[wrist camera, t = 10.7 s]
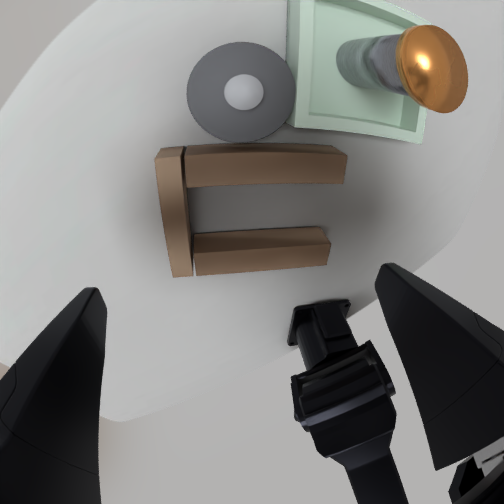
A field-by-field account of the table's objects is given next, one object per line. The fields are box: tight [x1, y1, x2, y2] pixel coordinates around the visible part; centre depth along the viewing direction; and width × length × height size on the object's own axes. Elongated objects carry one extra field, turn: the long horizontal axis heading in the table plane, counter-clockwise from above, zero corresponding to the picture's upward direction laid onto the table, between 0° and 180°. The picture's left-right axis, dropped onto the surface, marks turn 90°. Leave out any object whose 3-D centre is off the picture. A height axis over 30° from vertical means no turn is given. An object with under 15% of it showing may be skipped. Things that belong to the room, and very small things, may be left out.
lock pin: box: [336, 25, 468, 113], centre depth 10 cm, size 4×4×8 cm
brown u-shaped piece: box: [155, 143, 347, 277], centre depth 18 cm, size 9×12×2 cm
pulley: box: [187, 42, 296, 142], centre depth 13 cm, size 6×6×3 cm
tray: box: [285, 0, 432, 144], centre depth 13 cm, size 10×10×3 cm
